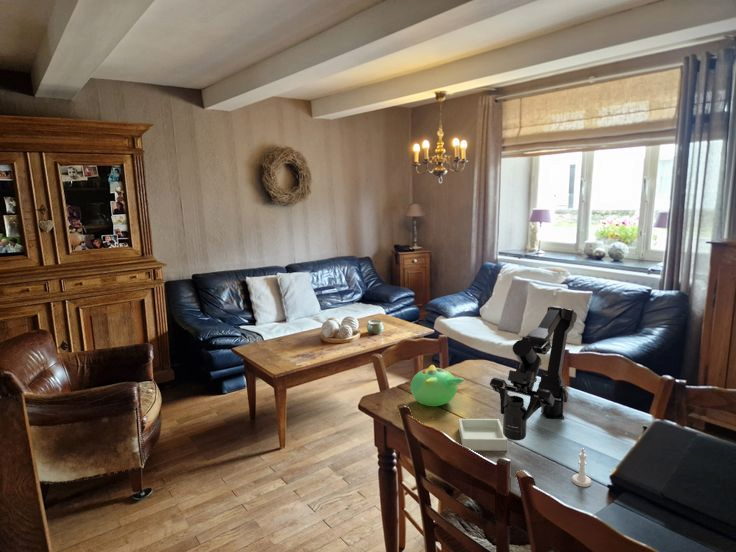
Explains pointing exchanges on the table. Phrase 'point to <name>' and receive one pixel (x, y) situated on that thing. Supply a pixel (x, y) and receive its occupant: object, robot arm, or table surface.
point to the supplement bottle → (514, 418)
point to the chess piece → (582, 472)
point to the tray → (482, 434)
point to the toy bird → (434, 386)
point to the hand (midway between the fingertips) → (513, 417)
